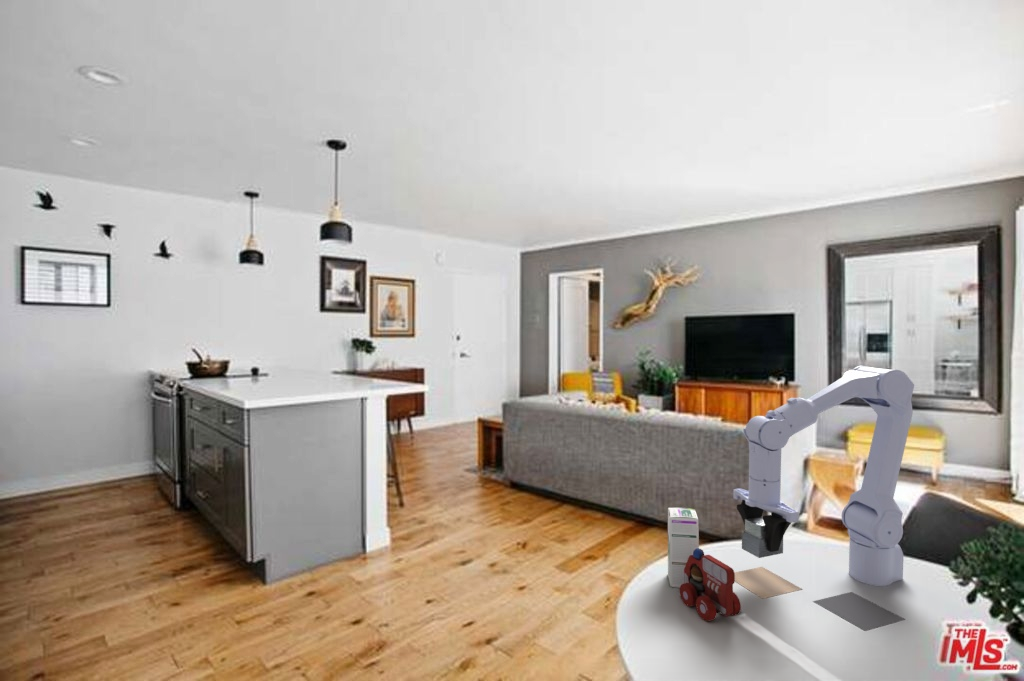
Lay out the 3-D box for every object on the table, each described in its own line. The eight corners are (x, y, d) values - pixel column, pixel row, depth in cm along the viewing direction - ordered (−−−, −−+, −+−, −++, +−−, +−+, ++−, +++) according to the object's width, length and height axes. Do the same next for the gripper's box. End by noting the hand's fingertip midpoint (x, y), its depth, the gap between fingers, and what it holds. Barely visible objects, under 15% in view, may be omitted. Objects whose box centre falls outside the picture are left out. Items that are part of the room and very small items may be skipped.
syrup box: (699, 590, 107) (700, 518, 106) (668, 587, 108) (669, 516, 107) (695, 576, 112) (696, 508, 112) (666, 573, 114) (667, 506, 113)
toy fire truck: (702, 589, 107) (703, 538, 107) (747, 623, 95) (748, 565, 95) (672, 595, 105) (673, 543, 104) (715, 630, 93) (715, 571, 93)
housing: (765, 544, 110) (765, 515, 110) (783, 553, 106) (783, 523, 105) (741, 548, 108) (742, 519, 108) (759, 558, 104) (759, 527, 103)
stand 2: (851, 599, 103) (851, 591, 103) (905, 627, 94) (905, 619, 94) (812, 609, 100) (812, 601, 100) (864, 639, 90) (864, 630, 90)
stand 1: (762, 573, 114) (762, 566, 114) (802, 596, 104) (802, 589, 104) (724, 581, 110) (724, 574, 110) (762, 606, 101) (762, 598, 101)
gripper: (722, 469, 112) (720, 534, 112) (778, 491, 98) (777, 564, 99) (748, 466, 114) (747, 529, 115) (807, 486, 100) (806, 558, 101)
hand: (763, 545), depth 107 cm, fingers closed on housing, 4 cm apart
